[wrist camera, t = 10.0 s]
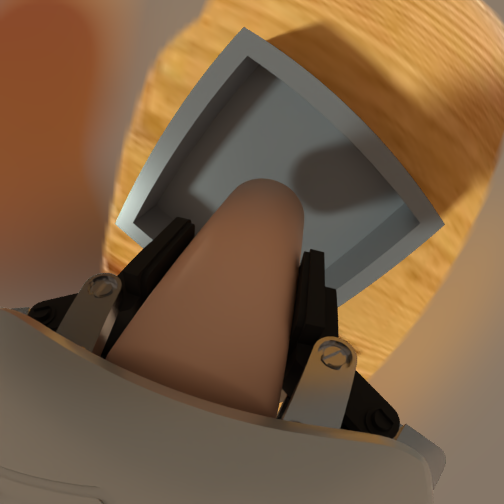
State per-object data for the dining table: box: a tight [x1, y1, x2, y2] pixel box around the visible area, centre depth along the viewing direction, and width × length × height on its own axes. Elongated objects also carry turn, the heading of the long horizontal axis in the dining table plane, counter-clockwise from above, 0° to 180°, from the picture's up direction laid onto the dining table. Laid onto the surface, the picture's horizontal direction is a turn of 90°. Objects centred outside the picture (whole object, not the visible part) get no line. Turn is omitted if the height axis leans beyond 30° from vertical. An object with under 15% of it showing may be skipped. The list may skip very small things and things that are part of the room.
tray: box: [115, 27, 445, 308], centre depth 17 cm, size 15×15×4 cm
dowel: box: [105, 178, 304, 418], centre depth 10 cm, size 4×4×11 cm
